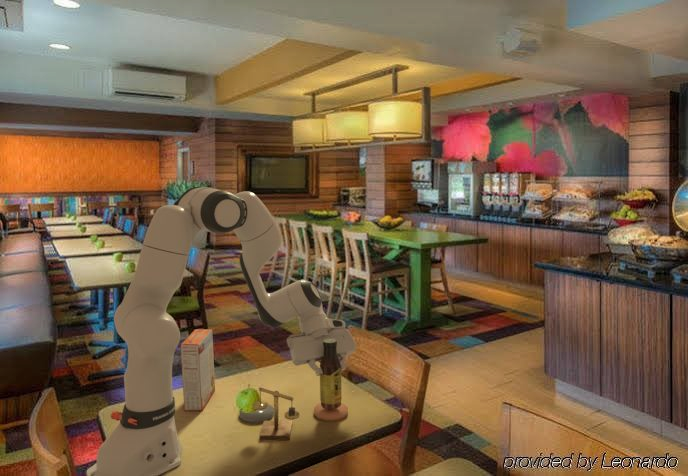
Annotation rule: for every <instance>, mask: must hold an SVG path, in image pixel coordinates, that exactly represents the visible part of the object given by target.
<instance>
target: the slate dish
mask: <svg viewBox="0 0 688 476" xmlns="http://www.w3.org/2000/svg"><path fill="white" fill-rule="evenodd" d="M239 418H240V420H241V421H242V422H245V423H249V424H260V423H264V421H271V420H272V419H273V418H274V406H272V405H271V404H269V403H268V407H267V408H265V409H262V410H256V411H254V412H252V413H244V412H242V411H241V409H240V410H239Z"/></svg>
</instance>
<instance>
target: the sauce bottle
mask: <svg viewBox="0 0 688 476" xmlns="http://www.w3.org/2000/svg"><path fill="white" fill-rule="evenodd" d="M323 346H324V356H323V358H322V359H321V361H319V362H320V363H319V368H322V371H323V374H322V375H320V376H319V391H320V392H319V395H320V396H319V397H320V398H319V399H320V403H321V406H322V407H323V408H325V409H331V410H332V409H336V408H338V407H340V405H341V403H342V371H341V365H340V363H341V361H340V360H339V359H338V357H337V351H336V346H337V340H335V339H325V340H323Z"/></svg>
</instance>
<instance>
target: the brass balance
mask: <svg viewBox="0 0 688 476" xmlns="http://www.w3.org/2000/svg"><path fill="white" fill-rule="evenodd" d="M258 391H259V401H255V402H254V404H253V403H252V404H253V408H254V409H257V410H262V409H265V408H267V407H268V404H269V403H268V402H267V401H265V400H262V393H265V394H268V395H271V396H273V408H274V416H273V419H274V420H268V421H264V422H262V426H261V428H260V429H261V430H260V433H259V441H260V440H266V441H267V440H269V441H270V440H272V441H279V440H280V441H281V440H282V441H284V440H285V441H287V440H289V441H290V439H291V435H292V430H293V425H294V424H293V420H297V419H299V417H300V412H299V411H296V407H295V406H294V407H293V401H294V397H292V396H289V395H286V394H283V393H280V392H279V391H278V390H269V389H267V388H264V387H259V388H258ZM279 398H282V399H285V400H288V401H291V402H290V403H291V405H290V406H291V407H289V408H288V411H286V412H285V413H284V418H285V419H287V420H280V419H279V417H280V415H279Z"/></svg>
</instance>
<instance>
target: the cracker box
mask: <svg viewBox="0 0 688 476" xmlns="http://www.w3.org/2000/svg"><path fill="white" fill-rule="evenodd" d="M213 339H214V337H213V329H212V328H211V329H206V328H205V329H204V328H203V329H202V328H198V329H195V328H194V330H193V331H192V332H191V333H190V334H189V336H187V338H186V339H184V341H183V342H181V344H180V357H181V358H180V359H181V360H180V361H181V374H182V375H181V376H182V392H183V394H182V395H183V407H184V411H187V412H188V411H195V412H196V411H197V412H201V411H203V410H204V409H205V408H206V405H207V404H208V402H209V401H210V400H211V397H212V396H213V395H214V393H215V391H216V383H215V381H216V380H215V379H216V377H215V364H214V363H215V361H214V359H215V358H214V340H213Z"/></svg>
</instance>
